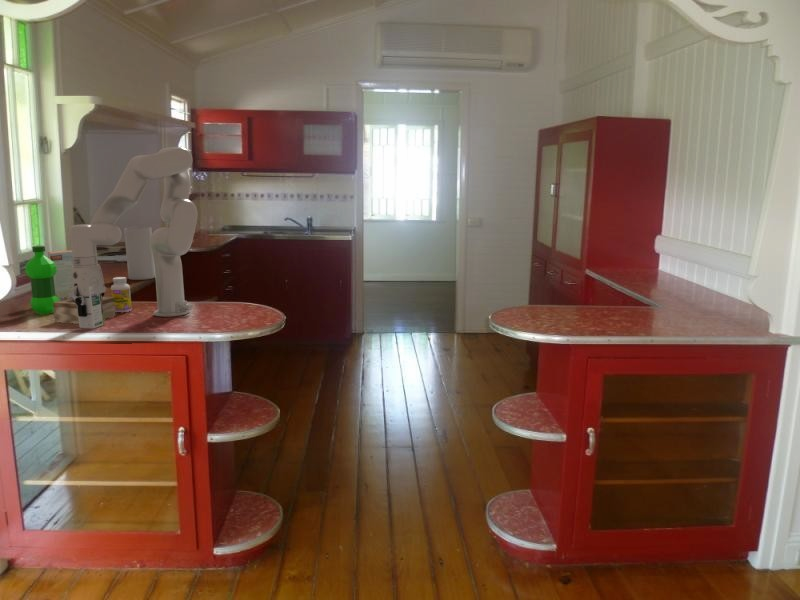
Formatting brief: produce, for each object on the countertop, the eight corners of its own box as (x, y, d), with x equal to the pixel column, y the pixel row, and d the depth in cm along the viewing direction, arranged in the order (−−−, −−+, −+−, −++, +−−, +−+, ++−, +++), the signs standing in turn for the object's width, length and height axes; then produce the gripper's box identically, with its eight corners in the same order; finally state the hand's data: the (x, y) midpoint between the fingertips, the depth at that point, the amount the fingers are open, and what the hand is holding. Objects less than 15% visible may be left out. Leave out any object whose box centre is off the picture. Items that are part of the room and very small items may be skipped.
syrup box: (94, 328, 230) (90, 286, 228) (78, 328, 231) (74, 285, 229) (104, 325, 236) (100, 283, 233) (89, 324, 237) (85, 283, 234)
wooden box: (115, 316, 250) (113, 297, 249) (86, 324, 237) (84, 304, 236) (85, 314, 255) (83, 295, 253) (54, 322, 242) (52, 302, 240)
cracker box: (89, 298, 287) (84, 248, 283) (93, 300, 282) (87, 250, 279) (52, 302, 279) (47, 251, 275) (55, 305, 274) (49, 252, 270)
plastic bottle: (47, 309, 265) (39, 244, 261) (67, 311, 261) (60, 245, 257) (24, 314, 256) (16, 247, 251) (44, 316, 252) (37, 248, 247)
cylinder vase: (159, 278, 341) (155, 227, 336) (134, 281, 333) (129, 229, 328) (149, 275, 350) (145, 226, 345) (124, 278, 342) (120, 228, 337)
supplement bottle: (111, 314, 255) (108, 279, 252) (114, 310, 261) (110, 277, 259) (130, 312, 256) (127, 278, 254) (132, 309, 263) (129, 276, 260)
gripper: (73, 265, 220) (79, 320, 224) (113, 258, 236) (117, 310, 240) (55, 264, 223) (61, 318, 226) (95, 258, 239) (100, 309, 242)
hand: (90, 313), depth 233 cm, fingers closed on syrup box, 6 cm apart
